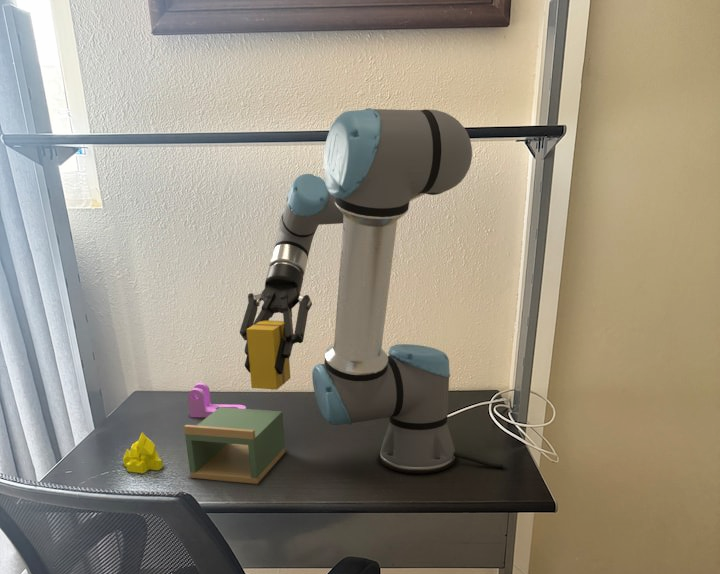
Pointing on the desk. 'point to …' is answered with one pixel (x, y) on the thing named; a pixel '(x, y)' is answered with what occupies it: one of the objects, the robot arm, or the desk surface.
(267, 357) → the package
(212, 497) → the desk surface
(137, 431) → the desk surface
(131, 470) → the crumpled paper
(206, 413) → the bracket
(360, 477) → the desk surface
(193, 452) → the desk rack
